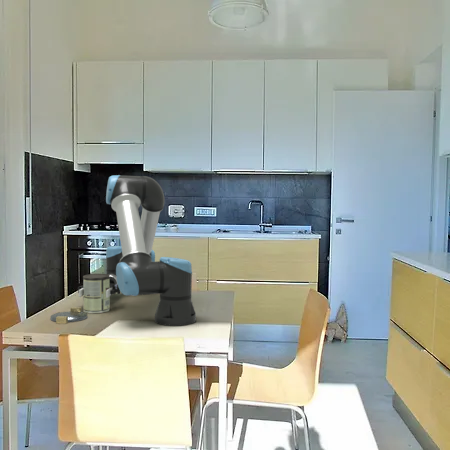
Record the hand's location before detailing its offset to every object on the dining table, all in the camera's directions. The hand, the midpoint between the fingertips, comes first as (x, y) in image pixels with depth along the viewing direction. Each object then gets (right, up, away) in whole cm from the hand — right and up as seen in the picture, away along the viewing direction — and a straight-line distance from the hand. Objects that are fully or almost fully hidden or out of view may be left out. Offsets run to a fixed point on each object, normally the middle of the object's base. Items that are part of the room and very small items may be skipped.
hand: (93, 293), depth 182 cm
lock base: (-7, -8, -8) cm, 13 cm away
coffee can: (0, -8, +5) cm, 9 cm away
